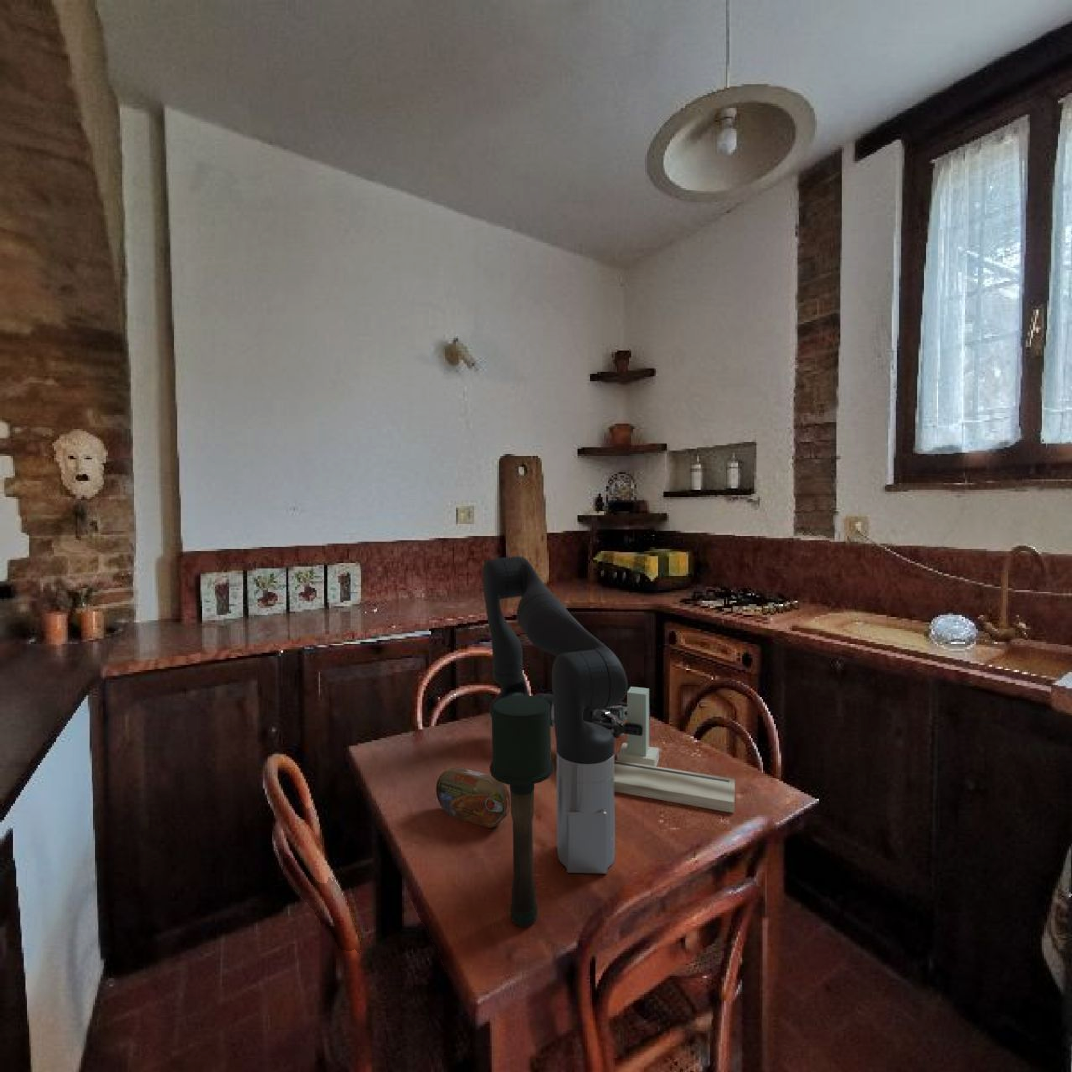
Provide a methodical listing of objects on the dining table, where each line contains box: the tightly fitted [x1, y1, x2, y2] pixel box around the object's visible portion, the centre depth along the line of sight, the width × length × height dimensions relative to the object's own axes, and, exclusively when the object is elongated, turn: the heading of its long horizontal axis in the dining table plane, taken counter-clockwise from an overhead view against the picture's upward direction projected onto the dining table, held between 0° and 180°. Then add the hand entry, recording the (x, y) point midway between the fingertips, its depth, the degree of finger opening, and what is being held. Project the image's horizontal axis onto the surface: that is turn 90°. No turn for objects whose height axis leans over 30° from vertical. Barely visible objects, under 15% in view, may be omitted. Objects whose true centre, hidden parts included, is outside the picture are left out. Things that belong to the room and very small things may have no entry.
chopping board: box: [614, 759, 736, 814], centre depth 108 cm, size 9×26×2 cm, turn 69°
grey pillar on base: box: [616, 686, 660, 767], centre depth 119 cm, size 6×8×16 cm
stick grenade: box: [489, 694, 555, 928], centre depth 74 cm, size 8×9×30 cm
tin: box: [435, 766, 511, 829], centre depth 99 cm, size 15×3×8 cm, turn 61°
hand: (646, 722), depth 119 cm, fingers open, 8 cm apart
